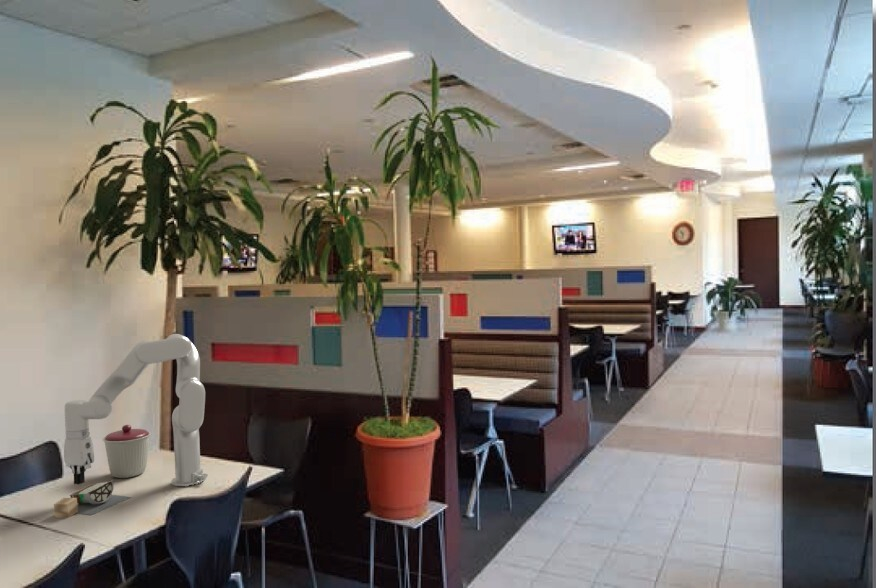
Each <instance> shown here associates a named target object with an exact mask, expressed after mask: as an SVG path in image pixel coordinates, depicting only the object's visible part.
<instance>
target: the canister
mask: <svg viewBox="0 0 876 588" xmlns="http://www.w3.org/2000/svg"><path fill="white" fill-rule="evenodd" d="M151 434H152V433H151V432H150V431H149V430H146V429H142V428H132V426H131V424H125V425H123V426H122V427H121V430H120V429H119V430H116V431H112V432H110V433H107V434H106V436H104V437H103V438H102V441H103V442H104V446H105V452H106V457H107V458H106V459H107V464H108V469H109V472H110V475H111V476H112V477H113V478H117V479H127V478H133V477H137V476H139V475H141V474H143V473H144V472H145V471H146V468H147V466H148V465H147V463H148V455H149V444H150V443H149V441H150V440H149V439H150V436H151Z"/></svg>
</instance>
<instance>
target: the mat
mask: <svg viewBox="0 0 876 588" xmlns="http://www.w3.org/2000/svg"><path fill="white" fill-rule="evenodd" d="M131 498H133V497H132V496H126V495H117V494H111V496H110V497H109V499H108V500H106V501H105V502H103V503H101V504H98V505H92V504H90V503H84V504H78V512H77V513H76V514H77V515H83V516H84V515H85V516H92V515H95V514H97V513H100V512H102V511H104V510H106V509H108V508H112V507H113V506H116V505H118V504H121V503H122V502H125V501H127V500H130V499H131Z"/></svg>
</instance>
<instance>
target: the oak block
mask: <svg viewBox="0 0 876 588" xmlns="http://www.w3.org/2000/svg"><path fill="white" fill-rule="evenodd" d="M78 506H79V503H77V498H71V497H63V498H61V499H60V500H58V501H56V502H55V503H54V504H53V509H54V516H55V518H65V519H67V518H70V517H72V516H74V515H75V514H77V512H78Z"/></svg>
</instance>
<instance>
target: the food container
mask: <svg viewBox="0 0 876 588" xmlns="http://www.w3.org/2000/svg"><path fill="white" fill-rule="evenodd" d="M114 483H115V482H114V480H108V481H103V482H98V483H91V484H88V485H86V486H85V487H83V488H81V489H79V490H77V491H75V492H73V493H72V494H70V495H69V496H70V497H69V498H77V504H78V505H82V504H84V503H90V504H92V505H98V504H101V503H103V502H105V501H106V500H108V499H109V497H110V496H111V495H113V492H114V489H115V488H114Z"/></svg>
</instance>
